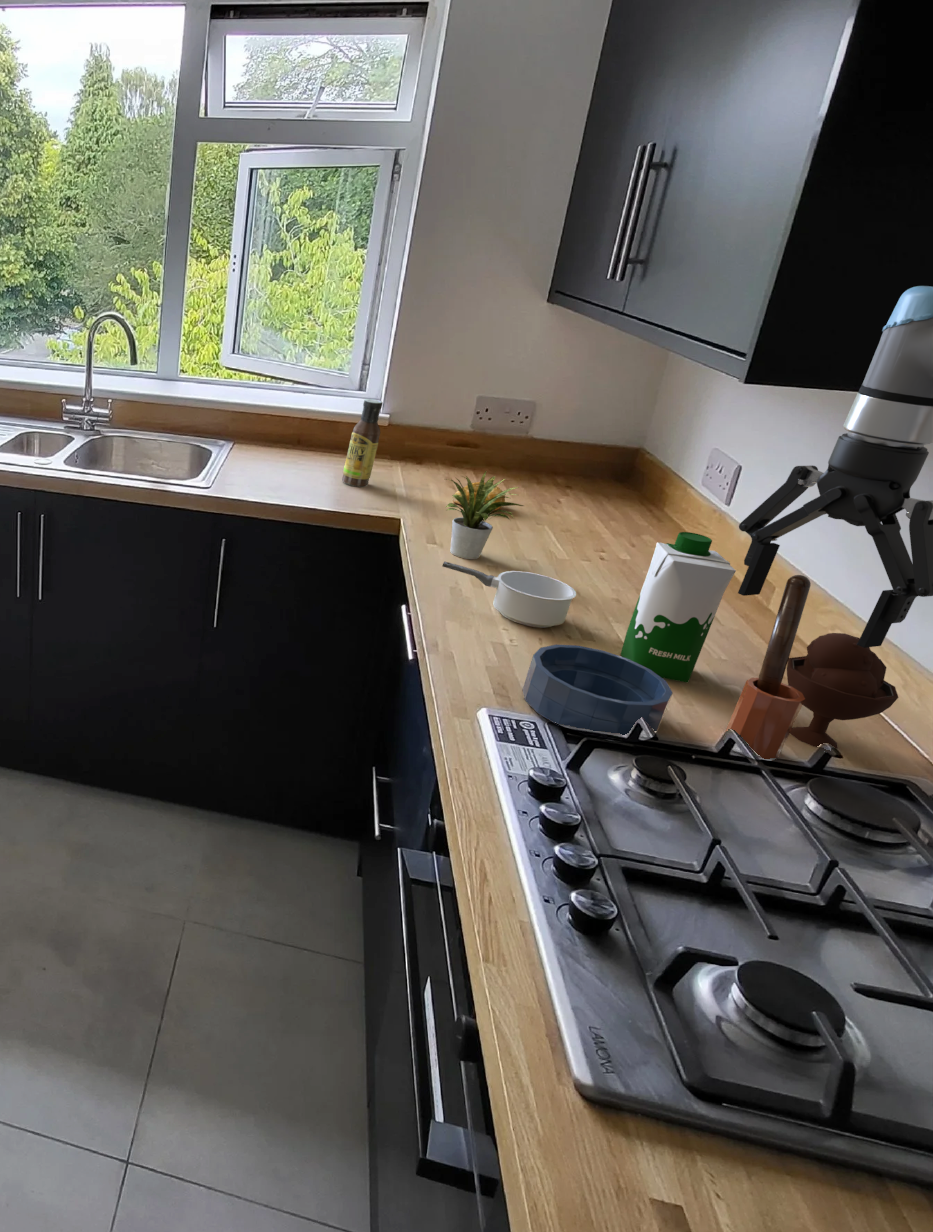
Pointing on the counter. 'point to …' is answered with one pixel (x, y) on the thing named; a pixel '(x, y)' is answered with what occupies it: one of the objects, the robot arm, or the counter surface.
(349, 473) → the sauce bottle
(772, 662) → the cooking stick
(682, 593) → the milk carton
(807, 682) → the ice cream bowl
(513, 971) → the counter surface
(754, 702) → the utensil pot
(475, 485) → the bagel
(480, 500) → the house plant
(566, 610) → the saucepan
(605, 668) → the mixing bowl
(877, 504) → the robot arm
